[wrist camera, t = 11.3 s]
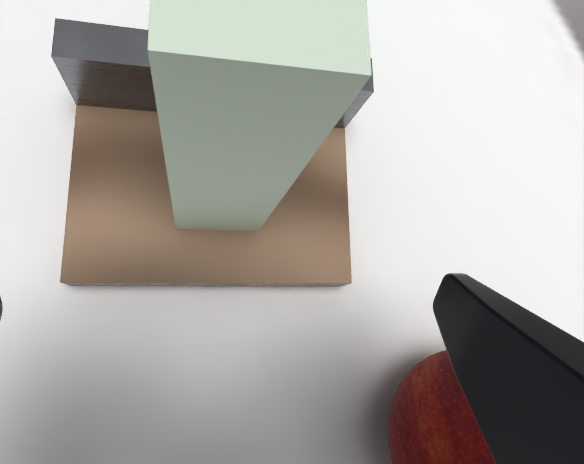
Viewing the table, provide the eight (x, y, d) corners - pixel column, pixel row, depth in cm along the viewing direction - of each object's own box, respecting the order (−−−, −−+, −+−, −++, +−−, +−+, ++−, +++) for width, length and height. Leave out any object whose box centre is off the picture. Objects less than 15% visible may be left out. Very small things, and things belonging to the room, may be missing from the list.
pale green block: (258, 231, 19) (371, 75, 7) (175, 229, 18) (147, 49, 6) (257, 135, 20) (357, -145, 8) (179, 129, 19) (160, -191, 7)
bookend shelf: (340, 285, 21) (384, 274, 16) (70, 285, 18) (27, 271, 13) (333, 114, 23) (371, 58, 18) (87, 90, 20) (55, 18, 15)
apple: (331, 388, 20) (418, 427, 12) (462, 317, 22) (605, 313, 14) (400, 546, 19) (539, 694, 12) (529, 456, 21) (716, 530, 14)
